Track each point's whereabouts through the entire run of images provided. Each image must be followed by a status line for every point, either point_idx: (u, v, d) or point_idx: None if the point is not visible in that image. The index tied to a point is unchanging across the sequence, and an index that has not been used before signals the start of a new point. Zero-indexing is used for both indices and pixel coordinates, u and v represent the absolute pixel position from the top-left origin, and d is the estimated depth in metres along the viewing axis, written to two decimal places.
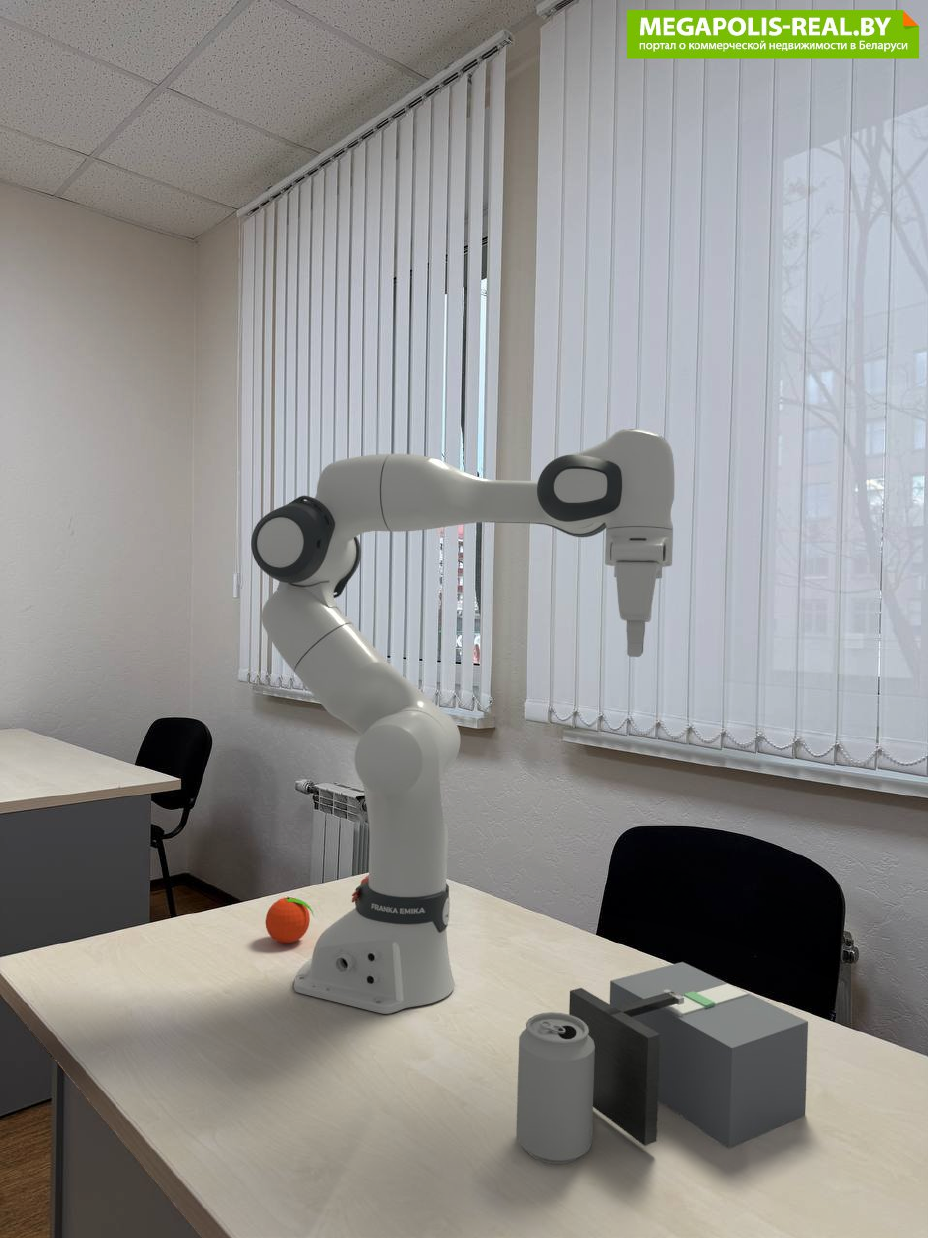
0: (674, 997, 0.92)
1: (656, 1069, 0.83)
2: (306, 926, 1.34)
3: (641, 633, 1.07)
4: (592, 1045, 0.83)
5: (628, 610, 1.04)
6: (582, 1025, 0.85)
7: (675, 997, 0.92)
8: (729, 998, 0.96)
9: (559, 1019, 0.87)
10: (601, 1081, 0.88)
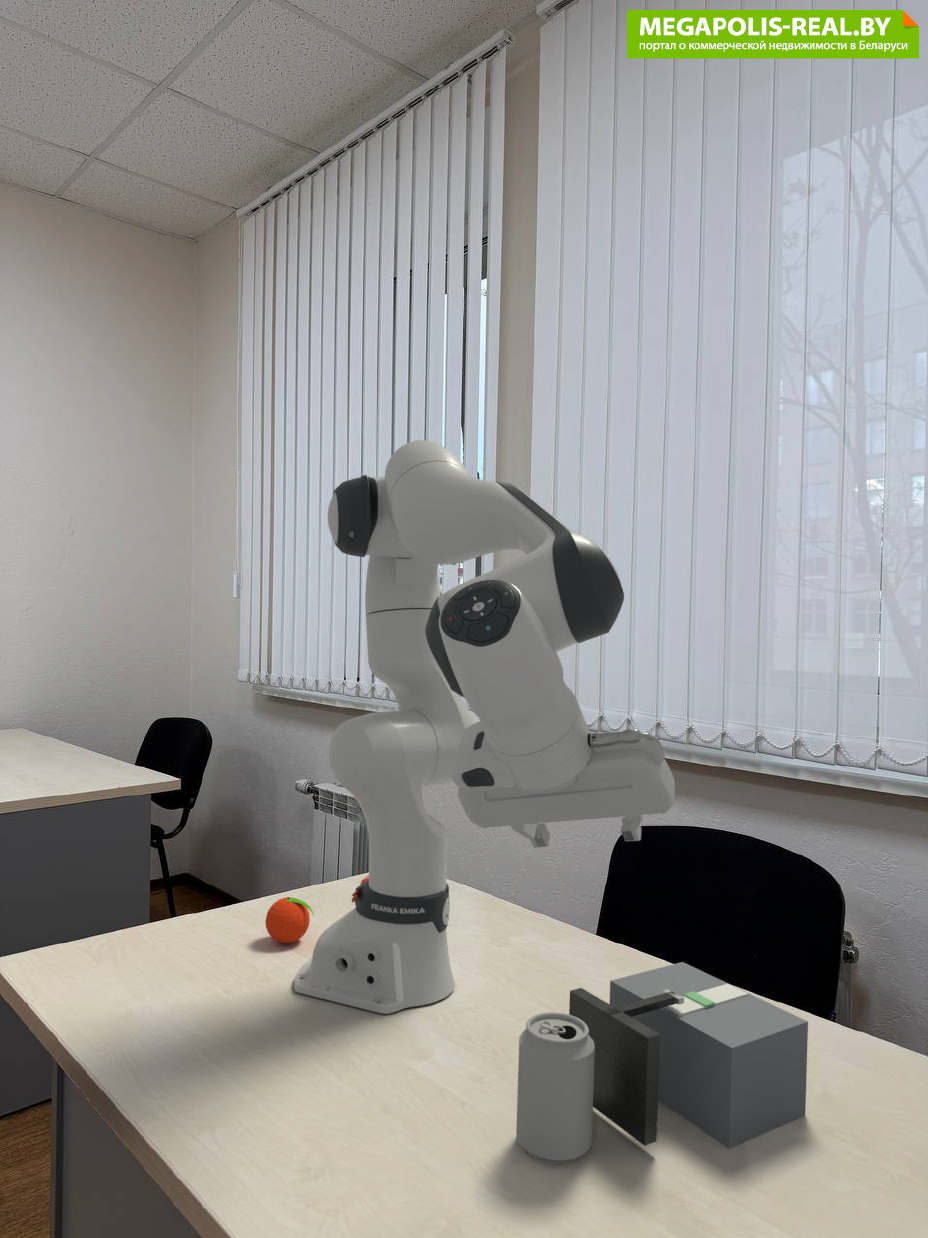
0: (674, 997, 0.92)
1: (656, 1069, 0.83)
2: (306, 926, 1.34)
3: None
4: (592, 1045, 0.83)
5: None
6: (582, 1025, 0.85)
7: (675, 997, 0.92)
8: (729, 998, 0.96)
9: (559, 1019, 0.87)
10: (601, 1081, 0.88)
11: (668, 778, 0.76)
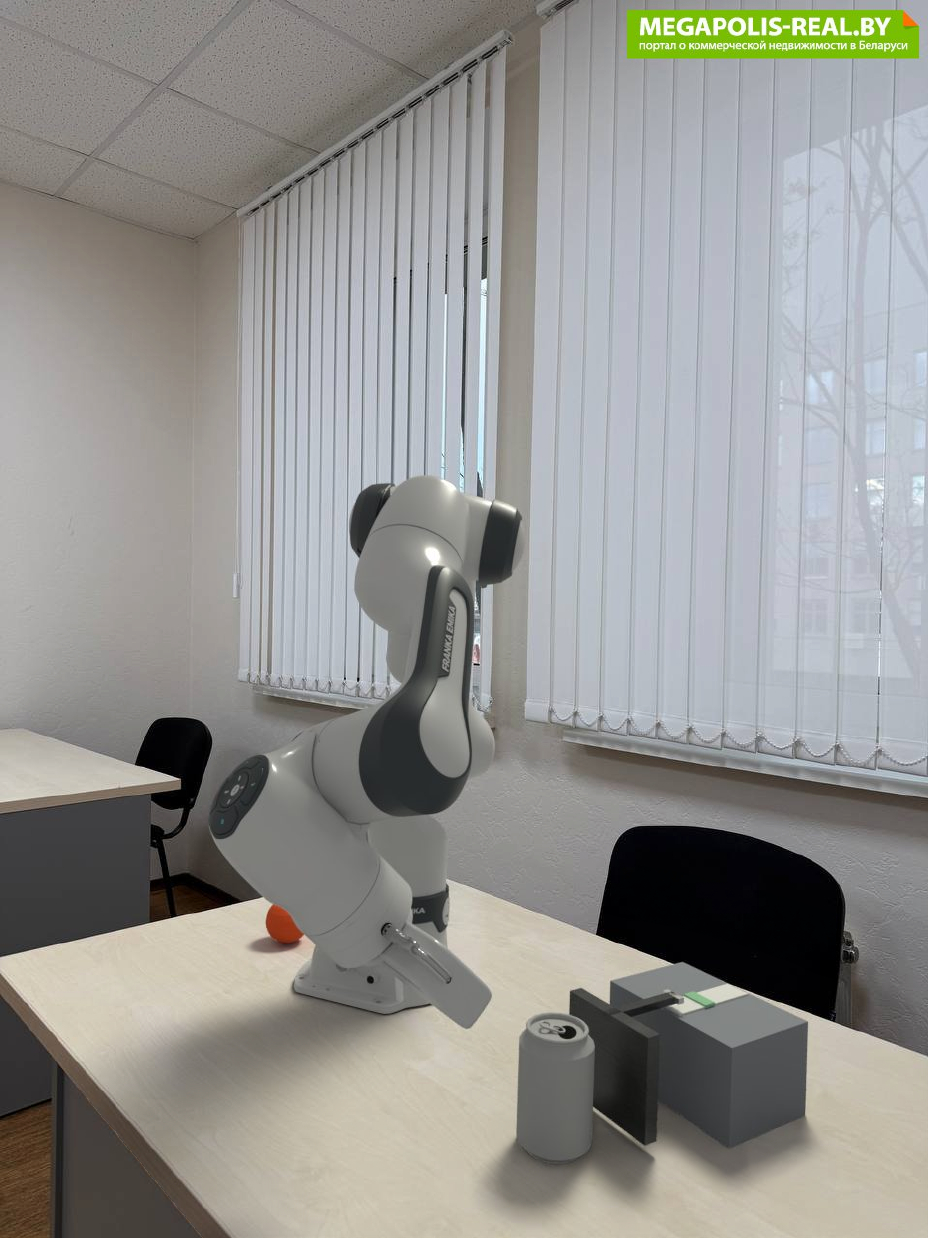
0: (674, 997, 0.92)
1: (656, 1069, 0.83)
2: None
3: None
4: (592, 1045, 0.83)
5: None
6: (582, 1025, 0.85)
7: (675, 997, 0.92)
8: (729, 998, 0.96)
9: (559, 1019, 0.87)
10: (601, 1081, 0.88)
11: (466, 996, 0.66)
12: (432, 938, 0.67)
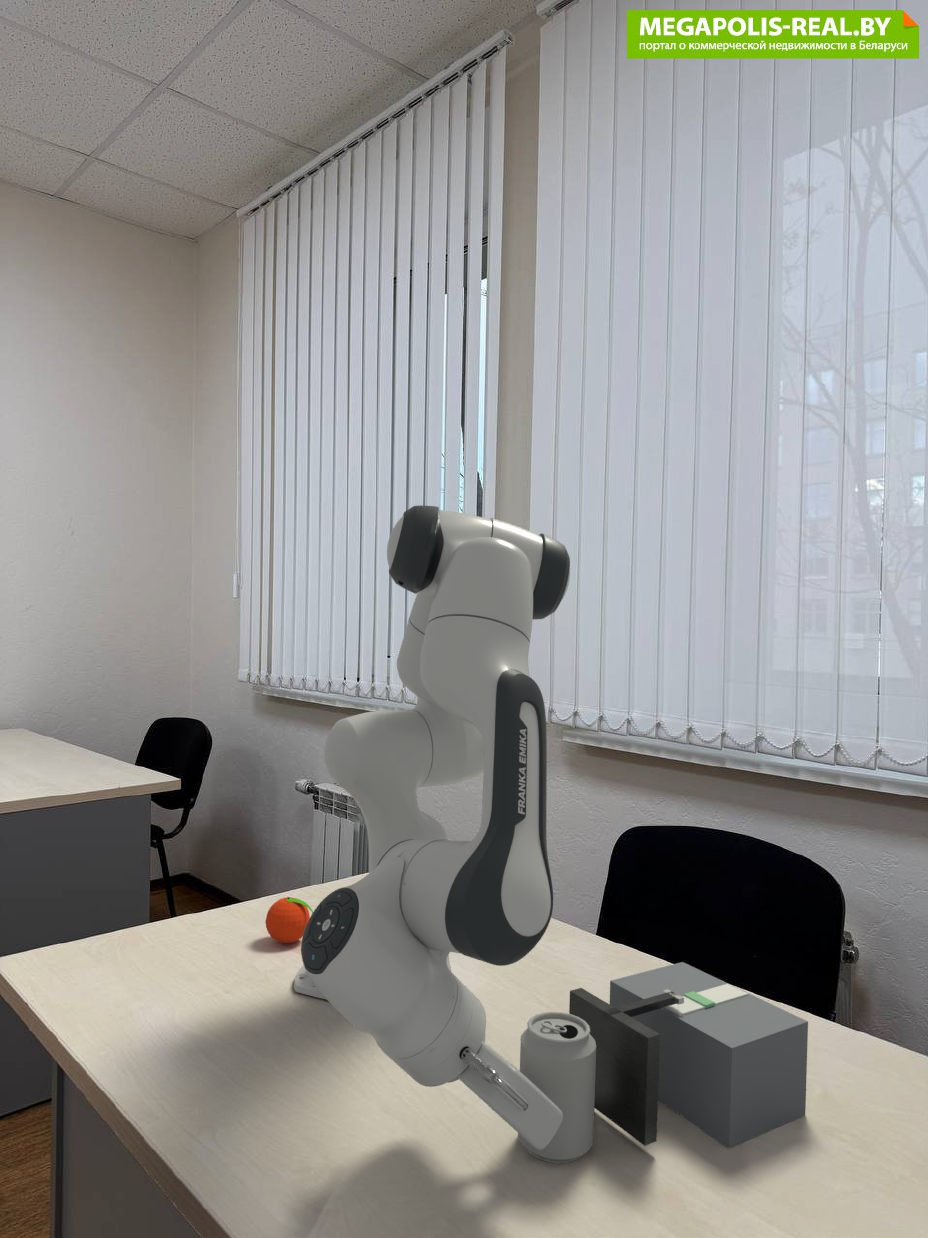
0: (674, 997, 0.92)
1: (656, 1069, 0.83)
2: None
3: None
4: (593, 1045, 0.83)
5: None
6: (583, 1024, 0.85)
7: (675, 997, 0.92)
8: (729, 998, 0.96)
9: (560, 1018, 0.87)
10: (601, 1081, 0.88)
11: (541, 1121, 0.71)
12: (509, 1065, 0.71)
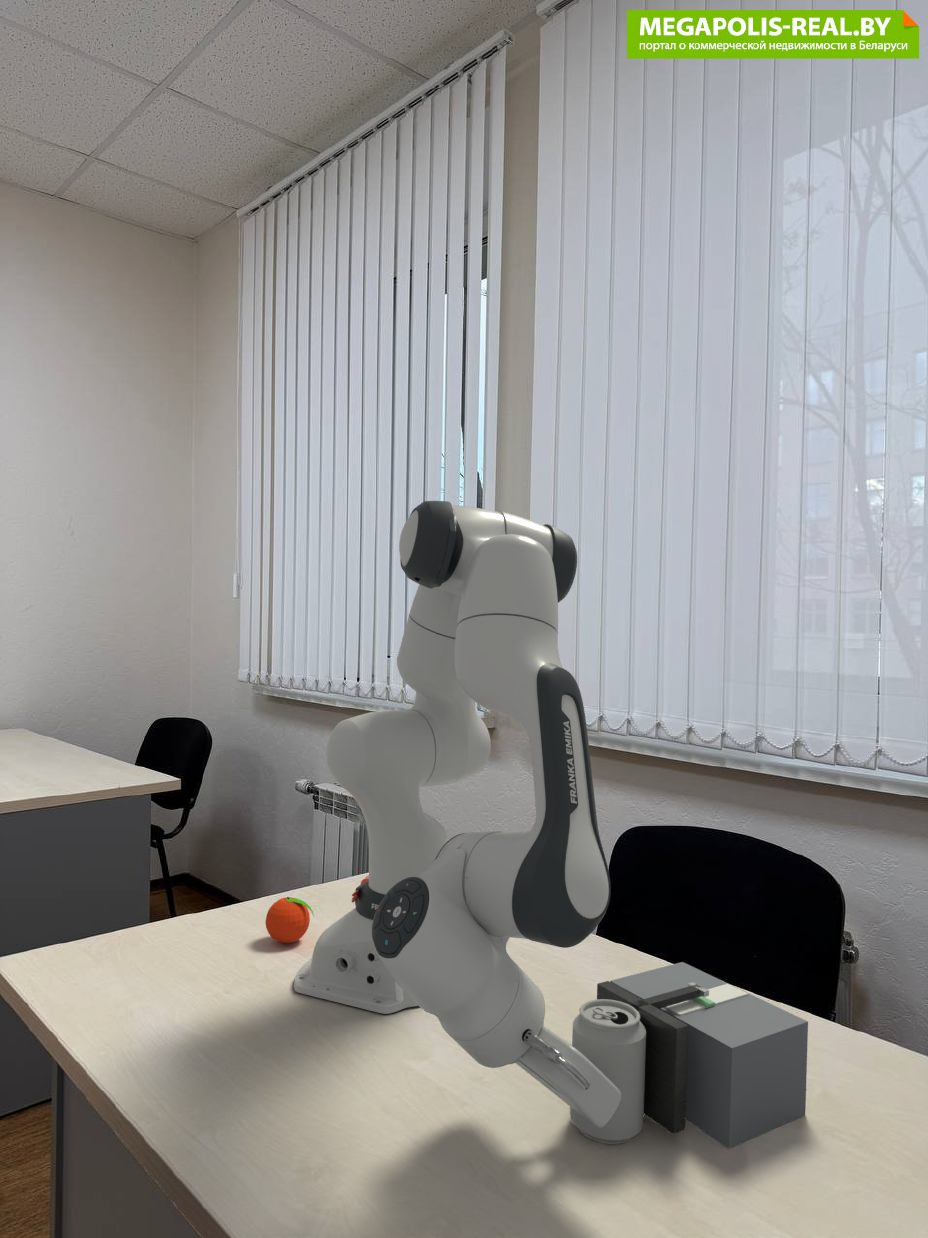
0: (699, 990, 0.94)
1: (684, 1059, 0.85)
2: (306, 926, 1.34)
3: None
4: (643, 1031, 0.86)
5: None
6: (633, 1011, 0.88)
7: (700, 990, 0.94)
8: (729, 998, 0.96)
9: (611, 1006, 0.90)
10: None
11: (601, 1100, 0.74)
12: (571, 1047, 0.75)
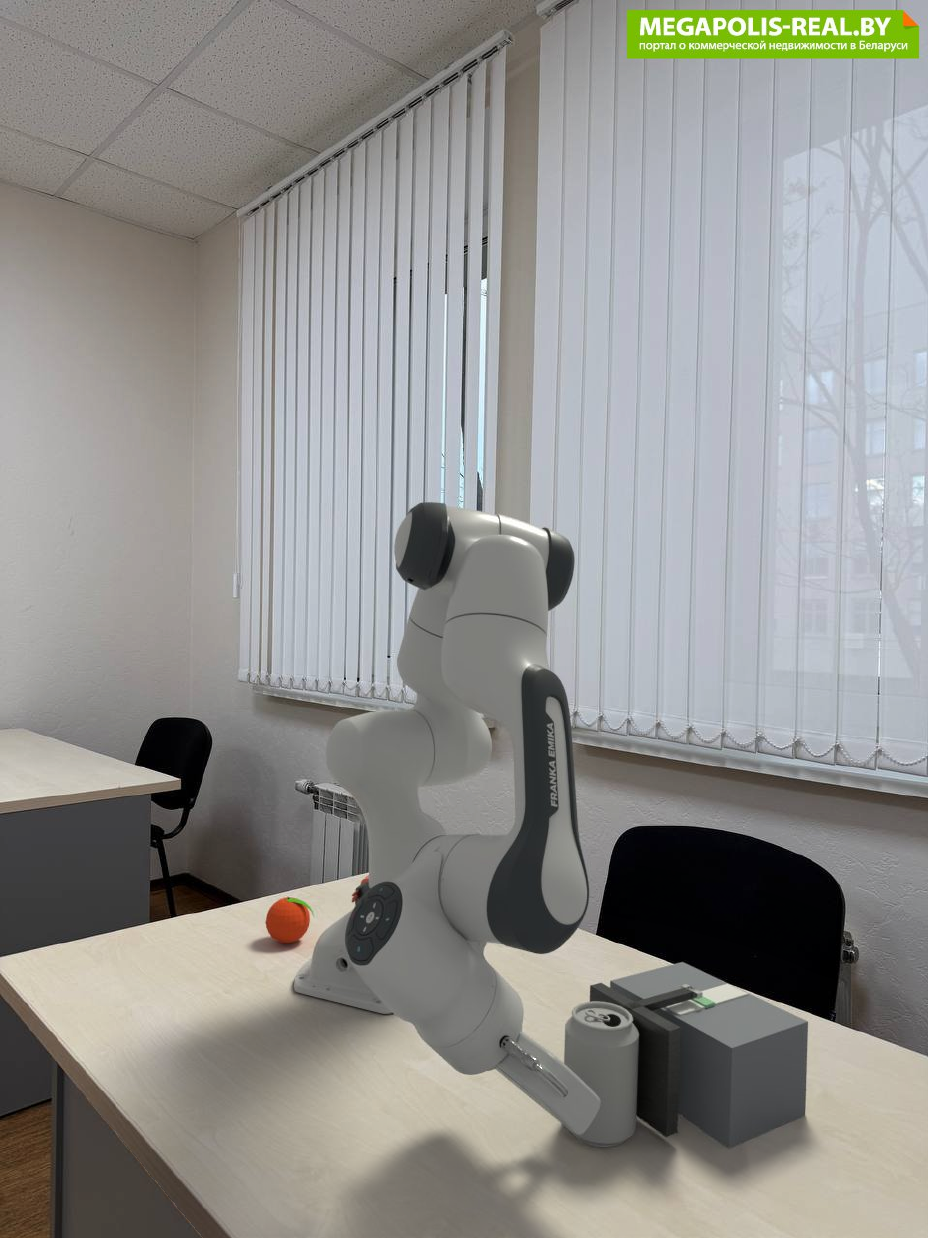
0: (693, 992, 0.93)
1: (677, 1061, 0.85)
2: (306, 926, 1.34)
3: None
4: (636, 1033, 0.86)
5: None
6: (626, 1014, 0.88)
7: (694, 992, 0.93)
8: (729, 998, 0.96)
9: (603, 1008, 0.89)
10: None
11: (580, 1107, 0.73)
12: (549, 1053, 0.73)
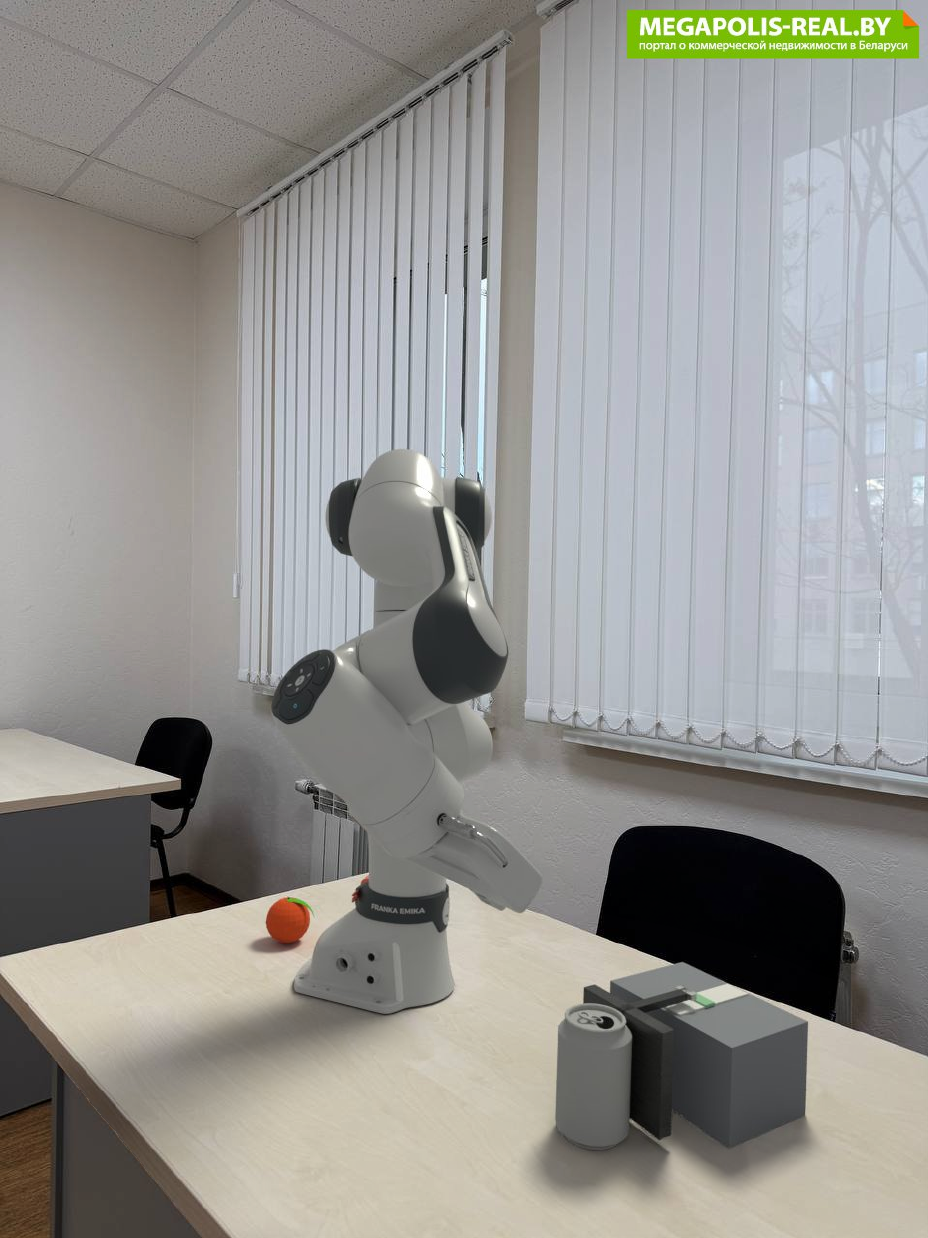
0: (687, 993, 0.93)
1: (670, 1064, 0.84)
2: (306, 926, 1.34)
3: None
4: (629, 1035, 0.85)
5: None
6: (619, 1016, 0.87)
7: (688, 993, 0.93)
8: (729, 998, 0.96)
9: (596, 1010, 0.89)
10: None
11: (520, 880, 0.69)
12: (488, 825, 0.70)
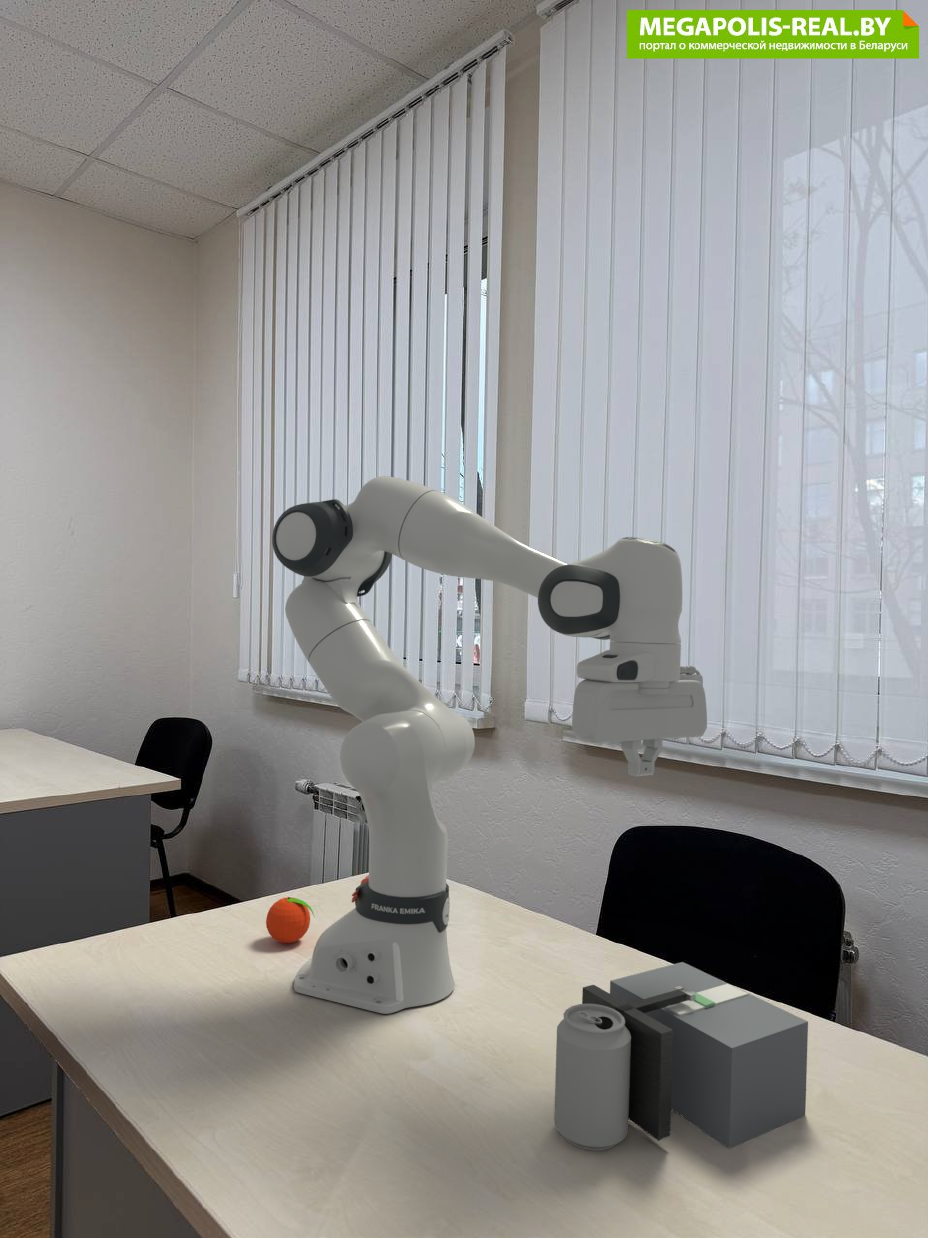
0: (686, 994, 0.93)
1: (669, 1064, 0.84)
2: (306, 926, 1.34)
3: (632, 753, 1.05)
4: (628, 1036, 0.85)
5: (576, 731, 1.02)
6: (618, 1016, 0.87)
7: (687, 994, 0.93)
8: (729, 998, 0.96)
9: (595, 1010, 0.89)
10: None
11: None
12: None
